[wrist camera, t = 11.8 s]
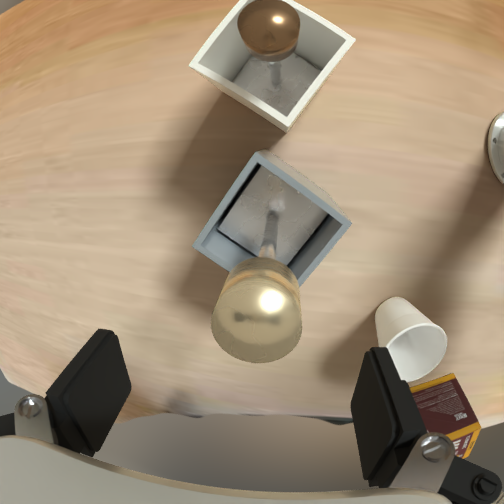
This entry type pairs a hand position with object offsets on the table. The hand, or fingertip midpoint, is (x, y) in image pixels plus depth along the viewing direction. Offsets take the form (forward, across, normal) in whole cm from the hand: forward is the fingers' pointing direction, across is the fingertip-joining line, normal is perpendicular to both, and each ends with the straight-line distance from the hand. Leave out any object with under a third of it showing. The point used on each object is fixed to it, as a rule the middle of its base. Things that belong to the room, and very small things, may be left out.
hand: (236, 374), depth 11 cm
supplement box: (+32, -32, +37) cm, 59 cm away
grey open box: (+32, -1, 0) cm, 32 cm away
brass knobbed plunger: (+22, -1, 0) cm, 22 cm away
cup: (+32, -20, +16) cm, 41 cm away
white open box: (+32, -1, -16) cm, 36 cm away
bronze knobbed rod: (+30, -1, -16) cm, 34 cm away
